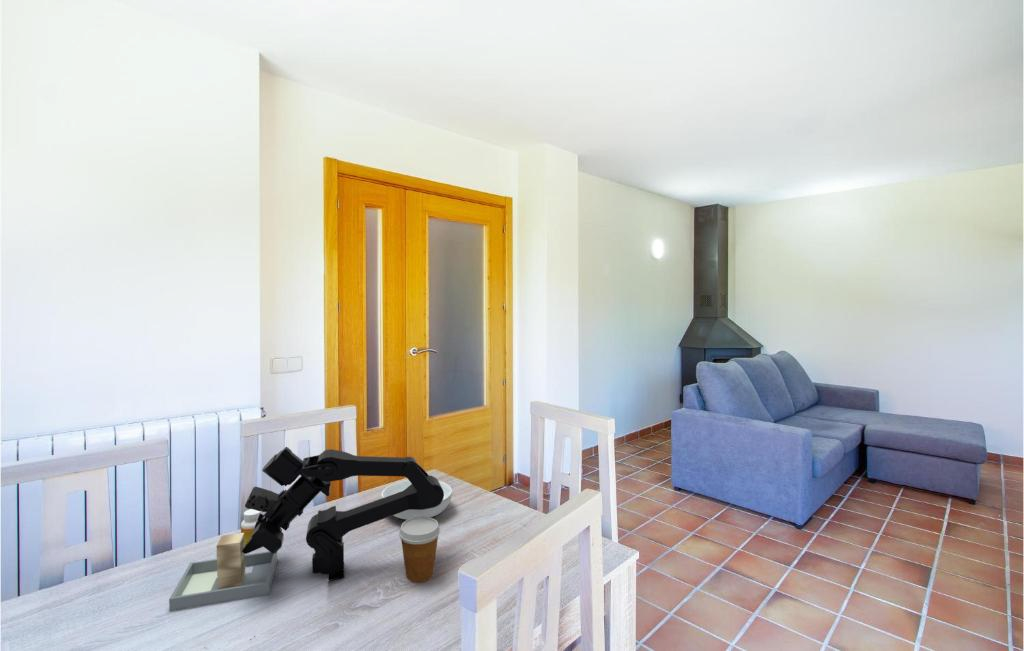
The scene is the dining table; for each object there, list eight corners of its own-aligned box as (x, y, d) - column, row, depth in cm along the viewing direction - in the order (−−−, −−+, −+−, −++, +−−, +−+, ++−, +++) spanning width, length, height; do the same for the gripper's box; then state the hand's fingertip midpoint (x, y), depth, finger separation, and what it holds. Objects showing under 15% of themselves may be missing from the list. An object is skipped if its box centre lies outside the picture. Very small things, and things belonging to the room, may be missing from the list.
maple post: (245, 575, 110) (244, 532, 109) (241, 586, 106) (240, 542, 105) (222, 579, 108) (221, 535, 108) (217, 590, 104) (216, 545, 104)
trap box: (277, 566, 116) (277, 550, 116) (268, 601, 103) (268, 582, 103) (190, 579, 111) (190, 562, 110) (169, 618, 97) (169, 599, 97)
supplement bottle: (254, 555, 121) (254, 517, 121) (236, 552, 122) (235, 515, 122) (269, 544, 127) (269, 508, 126) (251, 542, 128) (251, 506, 127)
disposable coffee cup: (390, 581, 111) (390, 531, 109) (412, 559, 120) (412, 512, 118) (427, 591, 108) (427, 539, 106) (447, 567, 117) (447, 519, 115)
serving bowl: (446, 530, 136) (446, 506, 135) (372, 528, 136) (372, 505, 135) (456, 499, 156) (456, 478, 156) (391, 498, 157) (391, 477, 156)
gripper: (275, 462, 117) (224, 512, 114) (262, 491, 99) (202, 552, 96) (310, 490, 120) (261, 540, 117) (304, 523, 102) (247, 583, 99)
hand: (244, 552), depth 107 cm, fingers closed, pressing on maple post
